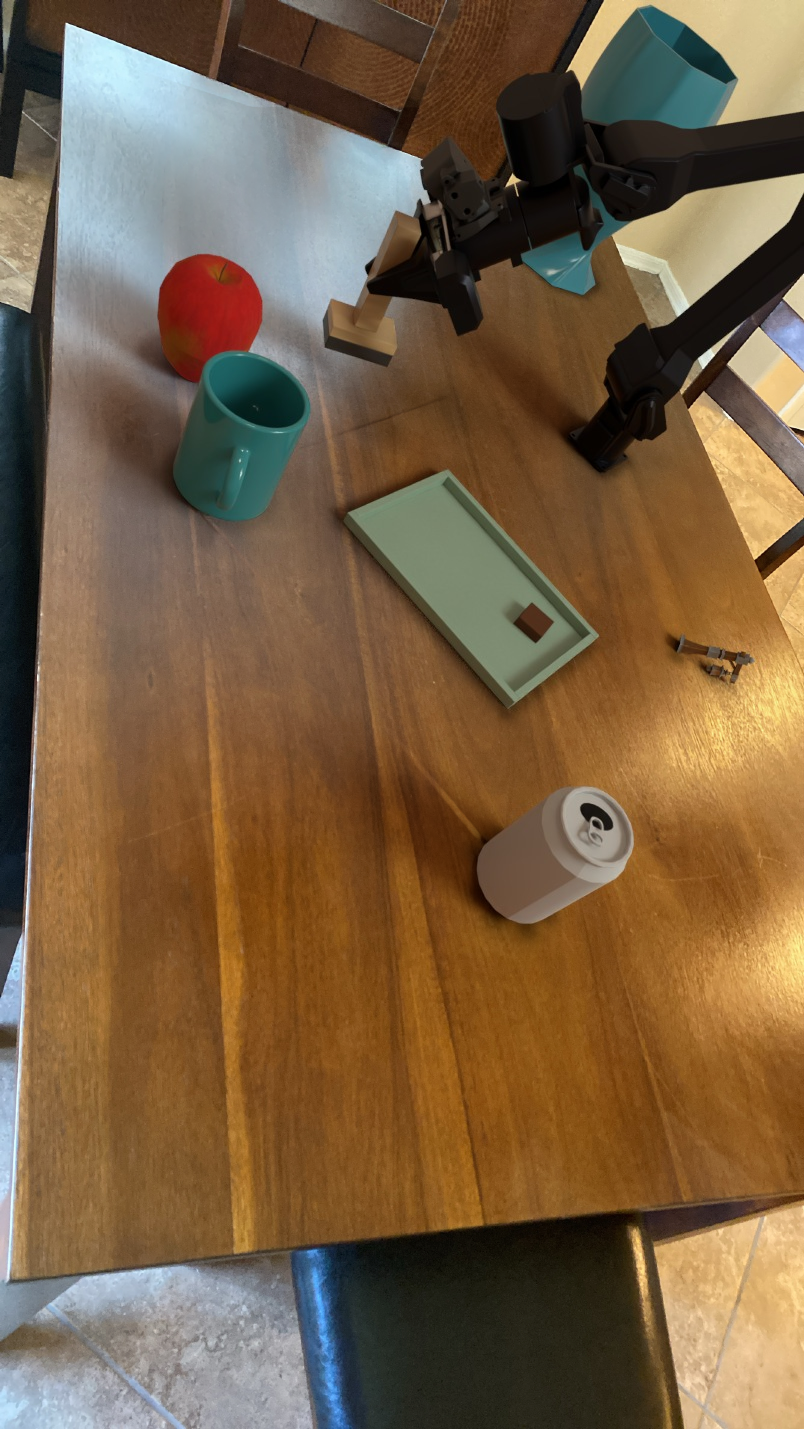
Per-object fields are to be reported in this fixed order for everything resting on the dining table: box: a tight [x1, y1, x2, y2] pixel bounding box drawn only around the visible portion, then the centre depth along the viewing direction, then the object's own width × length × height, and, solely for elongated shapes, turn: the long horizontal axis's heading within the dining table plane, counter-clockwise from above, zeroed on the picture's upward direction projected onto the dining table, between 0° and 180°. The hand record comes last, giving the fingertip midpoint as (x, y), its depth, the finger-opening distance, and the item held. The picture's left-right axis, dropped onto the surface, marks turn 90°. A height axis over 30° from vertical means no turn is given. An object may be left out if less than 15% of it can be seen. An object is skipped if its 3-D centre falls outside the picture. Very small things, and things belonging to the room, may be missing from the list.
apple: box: [156, 253, 264, 384], centre depth 80 cm, size 9×9×12 cm
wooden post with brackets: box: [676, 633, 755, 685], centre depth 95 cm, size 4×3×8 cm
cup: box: [172, 351, 312, 522], centre depth 73 cm, size 9×12×11 cm
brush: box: [322, 209, 421, 368], centre depth 85 cm, size 7×4×14 cm, turn 96°
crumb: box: [514, 603, 554, 643], centre depth 86 cm, size 3×3×1 cm
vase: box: [521, 4, 739, 296], centre depth 119 cm, size 17×17×30 cm
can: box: [476, 785, 635, 925], centre depth 66 cm, size 8×8×12 cm
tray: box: [342, 468, 600, 710], centre depth 85 cm, size 16×24×2 cm, turn 46°
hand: (366, 279), depth 84 cm, fingers closed on brush, 2 cm apart
